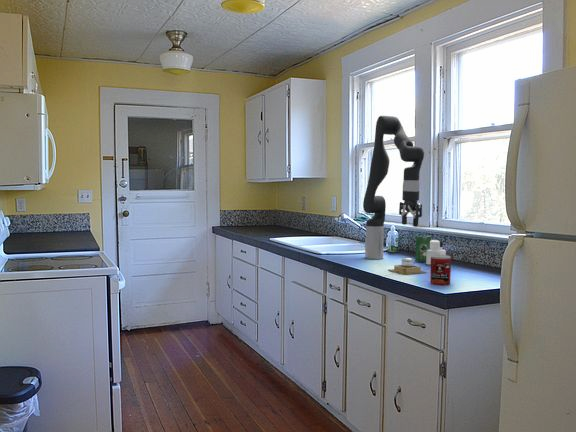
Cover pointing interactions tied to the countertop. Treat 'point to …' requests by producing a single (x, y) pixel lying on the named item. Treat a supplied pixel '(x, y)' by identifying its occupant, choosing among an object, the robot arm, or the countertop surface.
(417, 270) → the collar
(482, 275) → the countertop surface
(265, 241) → the countertop surface
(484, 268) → the countertop surface
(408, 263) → the cylinder
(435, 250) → the medicine bottle
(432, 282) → the canned food
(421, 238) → the coffee box
